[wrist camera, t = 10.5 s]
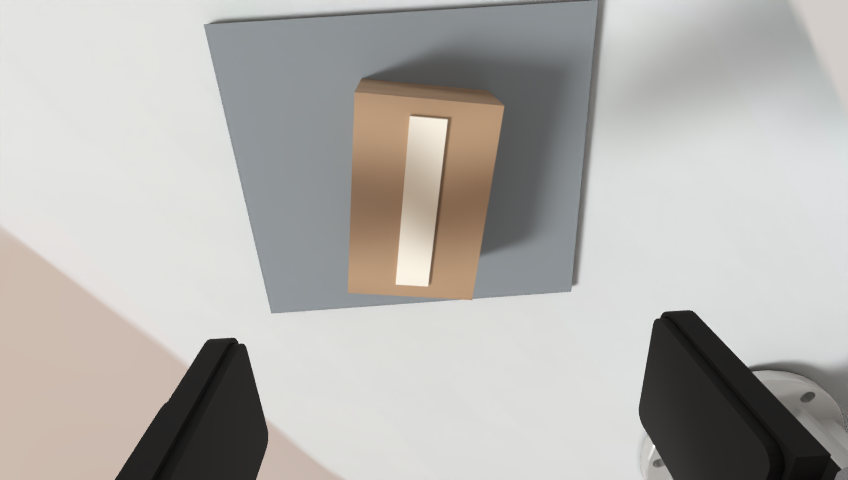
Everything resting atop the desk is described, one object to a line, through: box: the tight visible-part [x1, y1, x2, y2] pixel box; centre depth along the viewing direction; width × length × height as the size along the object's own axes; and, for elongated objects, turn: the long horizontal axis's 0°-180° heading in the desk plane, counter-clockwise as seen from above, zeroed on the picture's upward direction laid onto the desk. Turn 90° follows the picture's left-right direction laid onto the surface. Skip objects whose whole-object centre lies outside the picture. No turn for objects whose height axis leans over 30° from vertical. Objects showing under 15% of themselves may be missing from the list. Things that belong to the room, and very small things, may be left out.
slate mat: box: [204, 0, 598, 313], centre depth 23 cm, size 16×14×1 cm
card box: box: [348, 78, 504, 300], centre depth 21 cm, size 8×6×4 cm, turn 174°
